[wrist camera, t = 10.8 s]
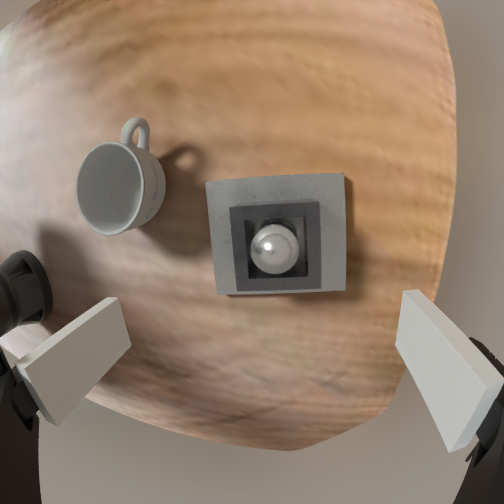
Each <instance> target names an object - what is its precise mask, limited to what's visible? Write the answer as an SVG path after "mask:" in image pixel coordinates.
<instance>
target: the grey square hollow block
mask: <svg viewBox="0 0 504 504" xmlns="http://www.w3.org/2000/svg"><path fill="white" fill-rule="evenodd" d="M229 213H230V224H231V235H232V246H233V257H234V267H235V277H236V287H237V291H277V290H304V289H321V227H320V204H319V201H317V200H315V199H299V200H280V201H263V202H248V203H239V204H236V205H233V206H231V207H229ZM286 217H303V221H304V244H305V260H300V261H296V262H295V264H294V265H293V266H292V267H291V268H290V269H289V270H287V271H286V272H283V273H279V274H271V273H267V272H264V271H262V270H261V269H260V268H258V267H257V266H256V264H255V263H254V261H253V259H252V257H251V243H252V241H253V239H254V229H253V219H267V218H286Z"/></svg>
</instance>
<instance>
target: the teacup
mask: <svg viewBox="0 0 504 504" xmlns="http://www.w3.org/2000/svg"><path fill="white" fill-rule="evenodd" d="M137 127H139V141H138V146H136V144H134V143H133V140H132V136H133V133H134V131H135V129H136V128H137ZM149 135H150V129H149V124H148V122H147V121H146V120H145V119H143V118H139V117H134V118H131V119H130V120H129V121H128V122H127V123H126V124H125V125H124V127H123V130H122V133H121V143H120V142H104V143H102V144H99V145H97V146H96V147H94V148H93V149H92V150H91V151H90V152H89V153H88V154H87V156H86V157H85V158H84V160H83V162H82V164H81V166H80V168H79V171H78V174H77V178H76V201H77V206H78V209H79V211H80V214H81V216H82V218H83V219H84V221H85V222H86V224H87V225H88V226H89V227H90V228H91V229H92V230H93V231H95V232H97V233H99V234H101V235H105V236H113V235H117V234H120V233H122V232H124V231H127V230H130V229H133V228H136V227H139V226H141V225H143V224H145V223H146V222H148V221H149V220H151V219H152V218H153V217H154V216H155V214H156V213H157V212H158V211H159V209H160V207H161V205H162V203H163V200H164V197H165V191H166V179H165V174H164V171H163V168H162V166H161V164H160V162H159V161H158V159H157V158H156V157H155V156H154V155H153V154H151V153H150V152H149Z"/></svg>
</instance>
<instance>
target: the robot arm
mask: <svg viewBox="0 0 504 504" xmlns="http://www.w3.org/2000/svg"><path fill="white" fill-rule="evenodd" d="M51 309H52V296H51V290H50V286H49V283H48V280H47V277H46V275H45V272H44V270H43V268H42V266H41V265H40V263H39V262H38V260H37V259H36V258H35V257H34V255H32V254H31V253H30V252H28V251H26V250H21V251H18V252H15V253H13V254H12V255H11V256H9V257H8V258H7V259H6V260H5V261H4V262H3V263H2V264H1V265H0V337H1V336H3V335H4V334H6V333H7V332H9V331H11V330H12V329H13V328H15V327H17V326H20V325H27V324H34V323H39V322H41V321H43V320H44V319H46V318H47V317H48V316H49V315H50V313H51ZM131 346H132V345H131V342H130V338H129V335H128V332H127V328H126V324H125V321H124V317H123V313H122V309H121V305H120V301H119V298H114V297H107V298H105V299H104V300H102V301H101V302H99V303H98V304H96V305H95V306H93V307H92V308H91V309H89V310H88V311H86V312H85V313H83V314H82V315H80V316H79V317H78V318H76V319H75V320H73V321H72V322H70V323H69V324H68V325H66V326H65V327H63V328H62V329H61V330H59V331H58V332H56V333H55V334H54V335H52V336H51V337H49V338H48V339H47V340H45V341H44V342H43V343H41V344H40V345H38V346H37V347H36V348H34V349H33V350H32V351H30V352H29V353H28V354H26V355H25V356H24V357H22V358H21V359H20V360H18V362H16V363H15V367H13V368H12V369H11V368H10V366H9V364H8V362H7V359H6V357H5V355H4V353H3V350H2V349H1V347H0V504H42V502H41V493H40V483H39V464H38V438H39V436H38V435H39V417H38V416H37V414H36V412H37V411H38V410H40V411H41V413H42V415H43V416H44V418H45V419H46V420H47V421H48V422H50V423H52V424H54V425H56V426H59V425H60V424H61V422H62V421H63V420H64V419H65V418H66V417H67V416H68V415H69V413H70V412H71V411H72V410H73V409H74V408H75V407H76V406H77V404H78V403H79V402H80V401H81V400H82V399H83V398H84V397H85V396H86V394H87V393H88V392H89V391H90V390H91V389H92V388H93V387H94V386H95V385H96V383H97V382H98V381H99V380H100V379H101V378H102V377H103V376H104V375H105V374H106V373H107V371H108V370H109V369H110V368H111V367H112V366H113V365H114V364H115V363H116V362H117V361H118V360H119V359H120V357H121V356H122V355H123V354H124V353H125V352H126V351H127V350H128V349H129V348H130V347H131ZM395 346H396V348H397V350H398V351H399V353H400V355H401V357H402V359H403V360H404V362H405V364H406V366H407V368H408V370H409V371H410V373H411V375H412V377H413V379H414V381H415V383H416V385H417V387H418V389H419V390H420V392H421V394H422V396H423V398H424V400H425V402H426V404H427V406H428V409H429V410H430V413H431V415H432V417H433V419H434V421H435V423H436V425H437V428H438V430H439V432H440V434H441V436H442V439H443V441H444V443H445V445H446V448H447V450H448V453H451V452H453V451H456V450H458V449H461V448H463V447H465V446H468V444H469V443H470V441H471V440H472V439H473V437H474V435H475V434H477V436H478V438H479V442H478V443H477V445H476V446H475V447H474V449H473V450H472V452H471V453H470V454H469V456H468V457H467V459H466V462H468V461H469V459H470V458H471V456H472V459H471V462H470V464H469V467H468V470H467V473H466V475H465V478H464V480H463V483H462V485H461V487H460V490H459V492H458V494H457V496H456V499H455V500H454V503H453V504H504V366H503V365H502V364H501V363H500V362H499V361H498V360H497V359H495V356H494V355H493V354H492V353H489V350H488V349H487V348H486V347H485V346H484V345H483V344H482V343H481V342H479V341H477V340H475V339H473V338H472V337H470V338H467V337H466V336H465V335H464V333H463V332H462V331H461V330H460V329H459V328H458V327H457V326H456V325H455V324H454V323H453V322H452V321H451V320H450V319H449V318H448V317H447V316H446V315H445V314H444V313H443V312H442V311H440V310H439V309H438V308H437V307H436V306H435V305H434V304H433V303H432V302H431V301H430V300H429V299H428V298H427V297H426V296H425V295H424V294H422V293H421V292H420V291H419V290H418V289H417V290H407V291H403V296H402V304H401V312H400V318H399V325H398V331H397V337H396V342H395Z"/></svg>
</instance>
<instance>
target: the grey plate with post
mask: <svg viewBox="0 0 504 504" xmlns="http://www.w3.org/2000/svg"><path fill="white" fill-rule="evenodd" d="M205 184H206V196H207V207H208V217H209V227H210V236H211V246H212V255H213V263H214V272H215V280H216V288H217V295H233V294H277V293H303V292H324V291H342V290H346V209H345V187H344V173H322V174H297V175H279V176H264V177H251V178H240V179H229V180H220V181H210V182H205ZM299 199H315V200H317V201H319V204H320V227H321V289H304V290H277V291H237V287H236V277H235V267H234V257H233V246H232V235H231V224H230V213H229V207H231V206H233V205H236V204H239V203H248V202H263V201H280V200H299ZM253 229H254V239H253V241H252V243H251V257H252V259H253V261H254V263H255V264H256V266H257V267H258V268H260V269H261V270H262V271H264V272H267V273H271V274H279V273H283V272H286V271H287V270H289V269H290V268H291V267H292V266H293V265H294V264H295V262H296V261H300V260H305V244H304V221H303V217H286V218H267V219H253Z"/></svg>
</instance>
